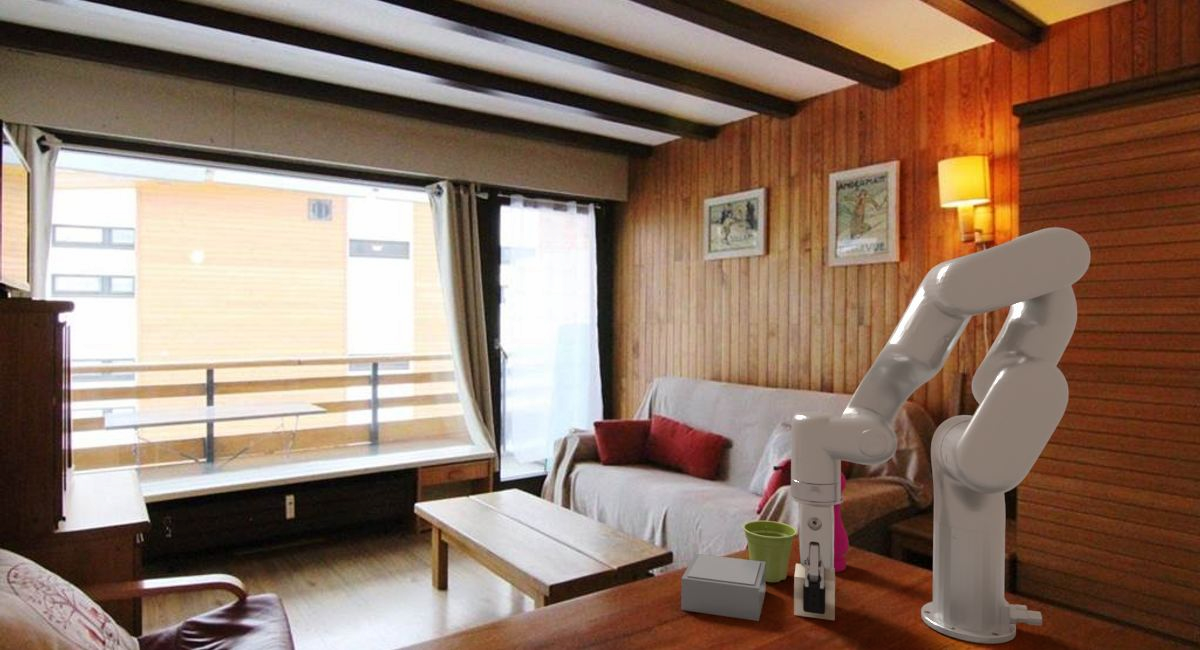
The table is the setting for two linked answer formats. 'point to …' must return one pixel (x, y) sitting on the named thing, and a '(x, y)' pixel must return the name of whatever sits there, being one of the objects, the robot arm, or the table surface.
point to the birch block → (829, 593)
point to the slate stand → (724, 586)
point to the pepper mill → (840, 534)
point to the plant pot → (770, 546)
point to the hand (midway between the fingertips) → (814, 602)
